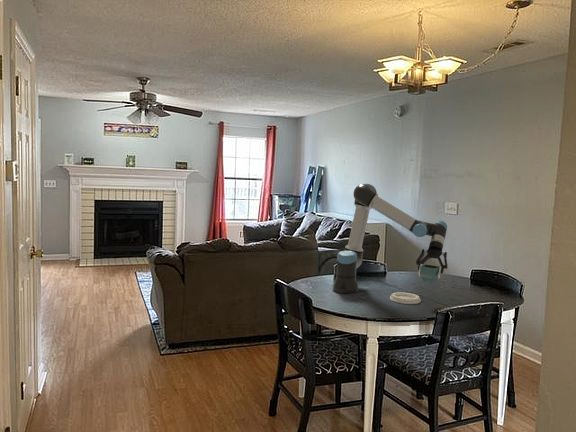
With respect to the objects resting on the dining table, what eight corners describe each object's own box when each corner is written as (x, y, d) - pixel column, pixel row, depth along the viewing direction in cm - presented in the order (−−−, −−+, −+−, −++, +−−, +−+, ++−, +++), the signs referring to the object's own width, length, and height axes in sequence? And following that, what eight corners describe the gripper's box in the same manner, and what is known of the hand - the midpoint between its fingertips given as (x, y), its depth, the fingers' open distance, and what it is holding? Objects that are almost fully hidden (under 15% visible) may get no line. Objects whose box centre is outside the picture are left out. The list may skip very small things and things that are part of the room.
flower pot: (425, 279, 279) (426, 264, 278) (440, 282, 273) (441, 266, 273) (418, 282, 272) (419, 266, 271) (433, 285, 267) (435, 268, 266)
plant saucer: (403, 305, 267) (403, 300, 267) (383, 297, 282) (383, 293, 282) (427, 302, 275) (427, 298, 275) (406, 295, 290) (406, 291, 290)
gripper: (457, 250, 280) (450, 283, 267) (417, 246, 290) (409, 277, 277) (456, 242, 275) (449, 275, 262) (416, 238, 285) (407, 269, 272)
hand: (428, 276), depth 270 cm, fingers closed on flower pot, 10 cm apart
